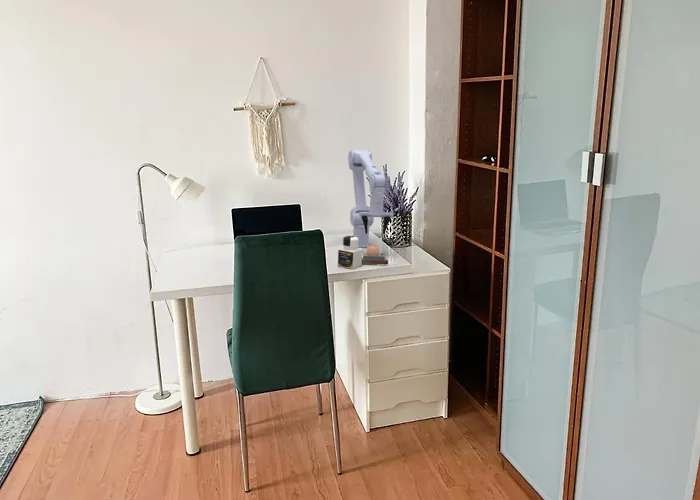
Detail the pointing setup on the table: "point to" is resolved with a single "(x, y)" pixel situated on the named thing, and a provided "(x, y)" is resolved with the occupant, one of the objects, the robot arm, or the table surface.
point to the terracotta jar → (373, 250)
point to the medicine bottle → (350, 253)
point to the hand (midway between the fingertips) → (375, 233)
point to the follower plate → (373, 257)
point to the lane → (375, 261)
